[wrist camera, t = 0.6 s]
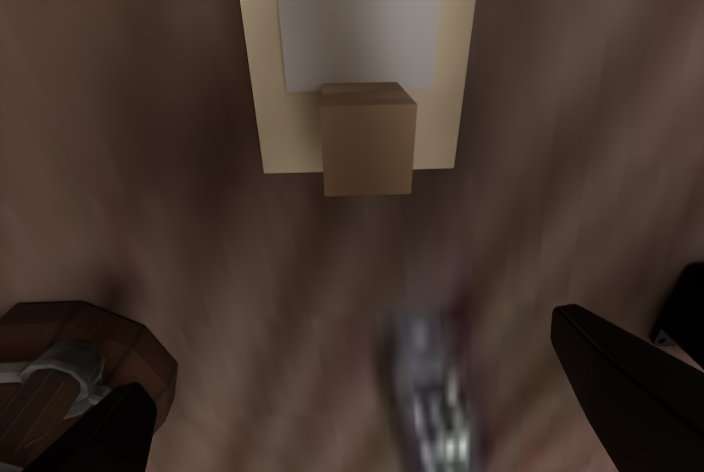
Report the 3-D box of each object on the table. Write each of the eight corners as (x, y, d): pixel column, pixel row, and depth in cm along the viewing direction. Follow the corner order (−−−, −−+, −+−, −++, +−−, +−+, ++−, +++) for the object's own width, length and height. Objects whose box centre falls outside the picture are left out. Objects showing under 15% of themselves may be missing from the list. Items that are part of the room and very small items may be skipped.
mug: (146, 438, 29) (-1, 769, 17) (-31, 383, 26) (-403, 760, 13) (237, 309, 23) (116, 679, 10) (22, 211, 19) (-601, 606, 6)
